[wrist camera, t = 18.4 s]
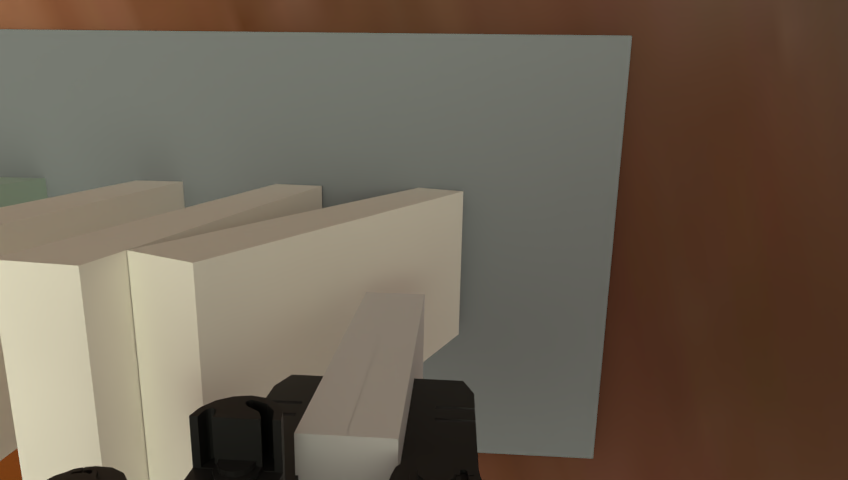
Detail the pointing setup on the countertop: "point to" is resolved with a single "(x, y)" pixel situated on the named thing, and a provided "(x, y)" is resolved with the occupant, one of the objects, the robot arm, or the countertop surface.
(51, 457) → the ivory domino
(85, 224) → the ivory domino
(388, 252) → the ivory domino
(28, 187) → the sage domino
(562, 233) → the domino mat
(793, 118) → the countertop surface
